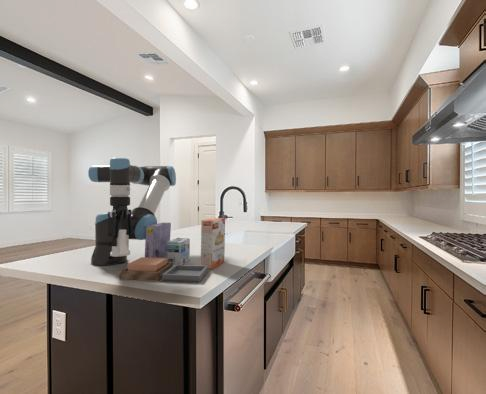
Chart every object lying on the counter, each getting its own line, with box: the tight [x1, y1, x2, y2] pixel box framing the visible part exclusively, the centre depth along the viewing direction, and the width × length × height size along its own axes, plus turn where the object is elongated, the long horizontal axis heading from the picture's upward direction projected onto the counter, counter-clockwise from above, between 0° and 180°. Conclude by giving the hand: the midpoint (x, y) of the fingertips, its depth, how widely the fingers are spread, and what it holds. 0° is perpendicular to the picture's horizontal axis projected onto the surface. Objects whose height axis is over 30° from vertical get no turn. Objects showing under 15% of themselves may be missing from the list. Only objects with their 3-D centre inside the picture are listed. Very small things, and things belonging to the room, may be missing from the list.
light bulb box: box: [167, 237, 191, 266], centre depth 125 cm, size 11×7×11 cm, turn 168°
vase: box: [110, 229, 131, 257], centre depth 110 cm, size 8×8×10 cm
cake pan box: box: [144, 222, 172, 258], centre depth 128 cm, size 19×5×18 cm, turn 172°
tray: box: [161, 264, 209, 284], centre depth 104 cm, size 14×14×2 cm
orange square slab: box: [127, 256, 168, 272], centre depth 106 cm, size 11×11×2 cm
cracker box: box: [200, 217, 226, 270], centre depth 120 cm, size 14×6×21 cm, turn 162°
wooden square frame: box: [119, 261, 174, 282], centre depth 106 cm, size 15×15×3 cm
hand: (120, 251), depth 110 cm, fingers closed on vase, 6 cm apart
